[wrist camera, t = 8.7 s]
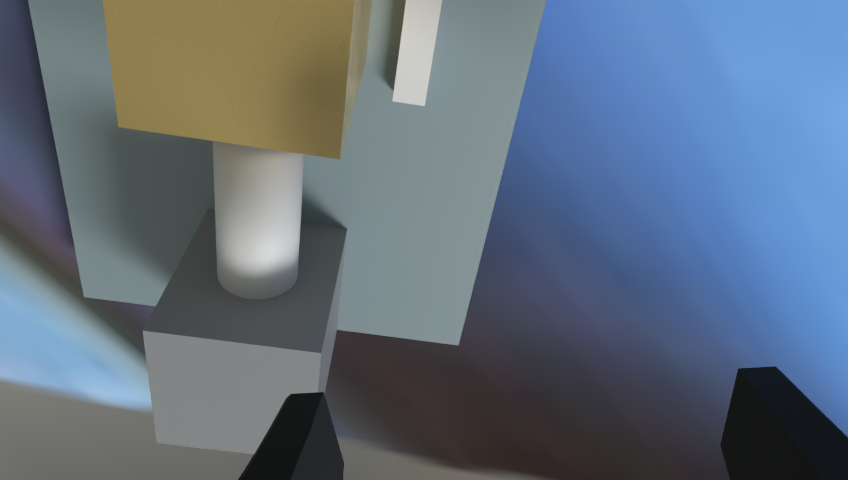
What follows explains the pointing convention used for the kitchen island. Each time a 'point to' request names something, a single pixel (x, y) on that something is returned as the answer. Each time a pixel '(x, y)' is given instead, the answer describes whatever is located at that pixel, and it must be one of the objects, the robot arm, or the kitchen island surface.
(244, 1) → the block
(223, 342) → the long grey base plate
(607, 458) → the kitchen island surface
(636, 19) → the kitchen island surface
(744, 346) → the kitchen island surface
